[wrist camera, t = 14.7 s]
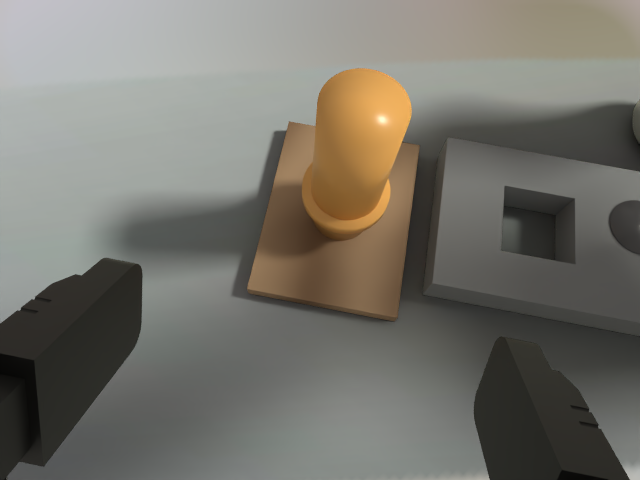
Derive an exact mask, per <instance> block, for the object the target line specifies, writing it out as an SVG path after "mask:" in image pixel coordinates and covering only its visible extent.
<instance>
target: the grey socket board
mask: <svg viewBox="0 0 640 480" xmlns="http://www.w3.org/2000/svg"><path fill="white" fill-rule="evenodd" d="M503 205H504V206H509V207H515V208H520V209H525V210H531V211H536V212H542V213H547V214H552V215H555V261H554V260H549V259H544V258H538V257H533V256H528V255H522V254H517V253H512V252H506V251H501V243H502V224H503ZM422 295H427V296H432V297H437V298H442V299H448V300H453V301H458V302H463V303H469V304H474V305H479V306H484V307H489V308H495V309H500V310H505V311H510V312H516V313H521V314H526V315H531V316H536V317H542V318H547V319H552V320H557V321H563V322H568V323H573V324H578V325H583V326H589V327H594V328H599V329H604V330H609V331H615V332H620V333H625V334H630V335H636V336H640V172H639V171H633V170H628V169H622V168H617V167H611V166H606V165H600V164H595V163H589V162H584V161H578V160H573V159H567V158H562V157H556V156H551V155H545V154H540V153H534V152H529V151H523V150H518V149H512V148H507V147H501V146H496V145H490V144H484V143H479V142H473V141H468V140H462V139H457V138H451V137H448V138H447V140H446V142H445V144H444V146H443V148H442V150H441V152H440V154H439V156H438V160H437V168H436V177H435V186H434V195H433V204H432V213H431V222H430V231H429V239H428V248H427V257H426V266H425V275H424V284H423V293H422Z"/></svg>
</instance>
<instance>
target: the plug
mask: <svg viewBox="0 0 640 480" xmlns="http://www.w3.org/2000/svg"><path fill="white" fill-rule="evenodd" d="M411 111H412V109H411V103H410V99H409V97H408V95H407V93H406V91H405V90H404V88H403V87H402V86H401V85H400V84H399V83H398V82H397V81H396V80H395V79H393V78H392V77H390V76H388V75H387V74H384V73H382V72H379V71H376V70H372V69H363V68H358V69H351V70H346V71H343V72H341V73H339V74H336V75H335V76H333V77H332V78H331V79H329V80H328V81H327V82H326V83H325V85H324V86H323V88H322V89H321V91H320V93H319V97H318V102H317V115H316V128H315V140H314V153H313V162H312V163H311V164H310V165H309V167H308V168H307V170H306V172H305V174H304V177H303V182H302V200H303V204H304V207H305V209H306V211H307V213H308V214H309V216H310V217H311V218H312V219H313V222H314V224H315V226H316V228H317V229H318V230H319V231H320V232H321V233H322V234H323V235H325V236H326V237H328V238H330V239H334V240H339V241H344V240H350V239H353V238H355V237H357V236H358V235H360V234H361V233H362V232H363V231H365V230H367V229H369V228H370V227H372V226H373V225H375V224H376V223H377V222H378V221H379V220H380V218H381V217H382V216H383V214H384V212H385V210H386V208H387V205H388V202H389V199H390V191H391V190H390V183H389V179H388V177H389V175H390V172H391V169H392V167H393V164H394V161H395V159H396V156H397V154H398V151H399V148H400V146H401V143H402V140H403V138H404V135H405V133H406V130H407V127H408V125H409V122H410V119H411Z"/></svg>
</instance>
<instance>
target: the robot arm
mask: <svg viewBox="0 0 640 480" xmlns="http://www.w3.org/2000/svg"><path fill="white" fill-rule="evenodd" d="M141 317H142V269H141V266H140V265H139V264H135V263H130V262H125V261H120V260H115V259H110V258H103V259H102V260H100V261H99V262H98V263H97V264H95V265H94V266H93V267H92V268H91V269H89V270H88V271H87V272H86V273H84V274H83V275H82V276H81V275H76V274H75V275H73V276H70V277H68V278H65V279H63V280H60V281H58V282H55V283H53V284H51V285H50V286H48V287H47V288H46V289H45V290H43V291H42V292H41V293H39V294H38V295H37V296H36V297H35V299H34V300H33V299H32V300H30V301H29V302H28V303H26V304H25V305H24V306H23V307H21V310H20V311H18V310H17V311H16V312H15V313H14V314H12V315H11V316H10V317H8V318H7V319H6V320H5V321H3V322H2V323H1V324H0V480H8V477H7V476H8V474H9V473H10V472H11V471H12V470H13V468H14V467H15V466H16V465H17V464H18V462H24V463H29V464H34V465H38V466H43V467H44V465H45V464H46V463H47V462H48V460H49V459H50V458H51V456H52V455H53V454H54V452H55V451H56V450H57V448H58V447H59V446H60V445H61V443H62V442H63V441H64V439H65V438H66V437H67V435H68V434H69V433H70V432H71V430H72V429H73V428H74V426H75V425H76V424H77V422H78V421H79V420H80V418H81V417H82V416H83V415H84V413H85V412H86V411H87V409H88V408H89V407H90V405H91V404H92V403H93V401H94V400H95V399H96V398H97V396H98V395H99V394H100V392H101V391H102V390H103V388H104V387H105V386H106V384H107V383H108V382H109V381H110V379H111V378H112V377H113V375H114V374H115V373H116V371H117V370H118V369H119V367H120V366H121V365H122V364H123V362H124V361H125V360H126V358H127V357H128V356H129V354H130V353H131V352H132V350H133V349H134V347H135V345H136V343H137V340H138V337H139V334H140V330H141ZM474 419H475V424H476V428H477V432H478V436H479V439H480V443H481V447H482V451H483V455H484V459H485V463H486V466H487V470H488V474H489V478H490V480H630V479H629V477H628V476H627V474H626V472H625V470H624V469H623V467H622V465H621V464H620V462H619V460H618V458H617V457H616V455H615V453H614V451H613V450H612V448H611V446H610V444H609V443H608V441H607V439H606V437H605V436H604V434H603V432H602V430H601V429H598V423H597V422H596V420H595V418H594V416H593V415H592V413H590V412H589V408H588V406H587V404H586V402H585V401H584V399H583V397H582V395H581V394H580V392H579V390H578V389H577V388H576V387H575V386H574V385H573V384H572V383H571V382H570V381H569V380H568V379H567V378H566V377H564V376H563V375H562V374H561V373H560V372H559V371H555V370H551V368H550V366H549V364H548V362H547V360H546V358H545V357H544V355H543V353H542V351H541V349H540V347H539V346H538V345H537V344H536V343H532V342H527V341H522V340H517V339H512V338H506V337H499V338H498V339H497V341H496V342H495V344H494V347H493V349H492V352H491V355H490V357H489V360H488V363H487V365H486V368H485V371H484V373H483V376H482V379H481V381H480V384H479V387H478V390H477V393H476V396H475V402H474Z"/></svg>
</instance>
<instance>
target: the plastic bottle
mask: <svg viewBox="0 0 640 480" xmlns="http://www.w3.org/2000/svg"><path fill="white" fill-rule="evenodd" d="M633 131H634V134H635V137H636V139H637V141H638V143H639V144H640V99H639V101H638V102H637V104H636V106H635V108H634V110H633Z"/></svg>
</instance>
